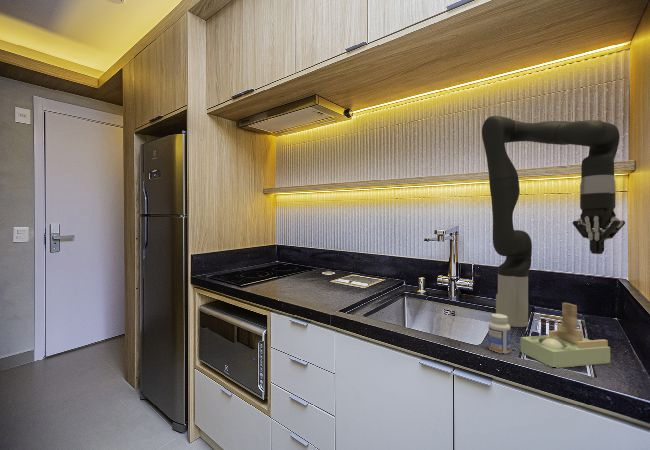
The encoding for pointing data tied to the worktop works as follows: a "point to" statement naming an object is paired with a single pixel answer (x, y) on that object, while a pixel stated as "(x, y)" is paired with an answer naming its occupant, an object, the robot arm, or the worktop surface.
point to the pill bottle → (499, 334)
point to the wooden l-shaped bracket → (569, 324)
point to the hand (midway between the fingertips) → (597, 253)
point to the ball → (552, 343)
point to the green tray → (566, 351)
